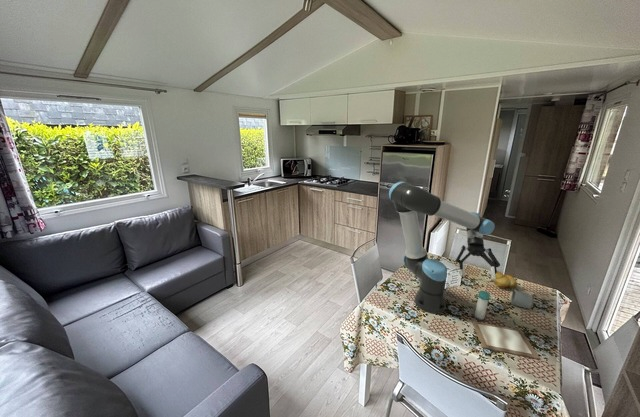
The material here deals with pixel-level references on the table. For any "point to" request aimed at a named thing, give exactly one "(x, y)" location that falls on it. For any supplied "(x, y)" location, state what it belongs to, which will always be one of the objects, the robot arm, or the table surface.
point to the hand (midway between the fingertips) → (478, 277)
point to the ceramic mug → (522, 299)
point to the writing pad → (504, 340)
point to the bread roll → (505, 281)
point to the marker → (481, 305)
